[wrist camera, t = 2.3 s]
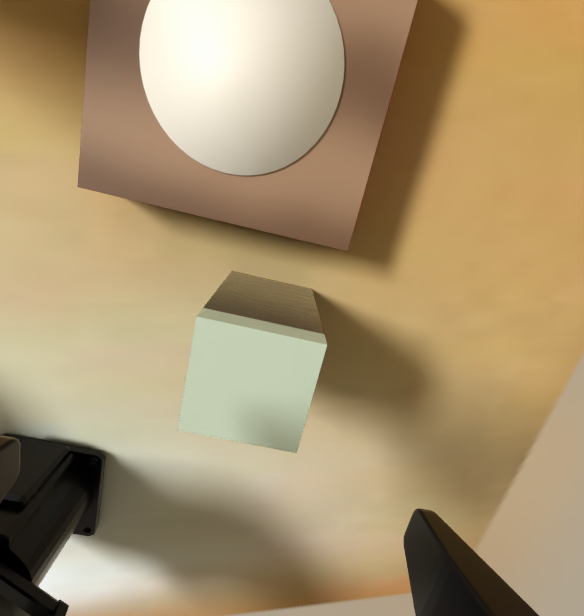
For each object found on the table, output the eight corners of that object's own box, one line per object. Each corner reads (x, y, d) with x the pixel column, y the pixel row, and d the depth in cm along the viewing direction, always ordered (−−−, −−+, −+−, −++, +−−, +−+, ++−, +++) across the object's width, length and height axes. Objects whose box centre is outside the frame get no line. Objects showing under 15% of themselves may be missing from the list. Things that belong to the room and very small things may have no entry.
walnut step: (342, 244, 19) (352, 252, 16) (110, 188, 18) (76, 186, 15) (415, -23, 16) (444, -73, 13) (136, -107, 15) (100, -182, 12)
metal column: (293, 361, 21) (296, 453, 14) (217, 345, 21) (177, 430, 13) (312, 289, 20) (327, 344, 12) (231, 271, 20) (196, 316, 12)
